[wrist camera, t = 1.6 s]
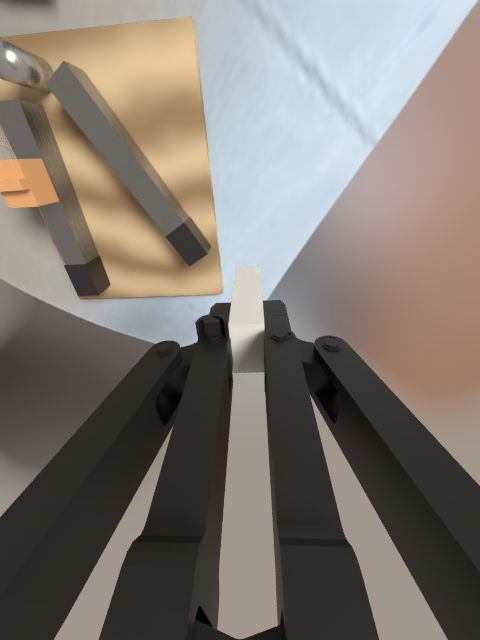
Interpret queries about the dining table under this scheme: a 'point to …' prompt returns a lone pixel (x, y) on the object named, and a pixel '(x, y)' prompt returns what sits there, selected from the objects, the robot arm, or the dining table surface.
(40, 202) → the tab
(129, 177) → the bar
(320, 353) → the robot arm
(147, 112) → the board
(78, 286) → the tongs fixed
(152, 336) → the dining table surface
